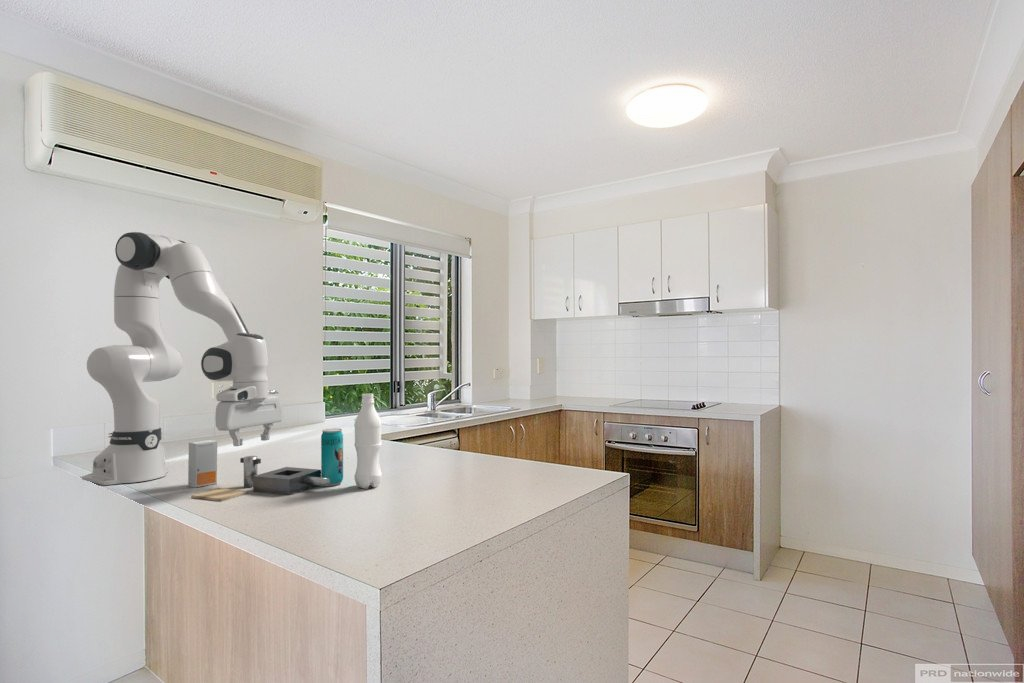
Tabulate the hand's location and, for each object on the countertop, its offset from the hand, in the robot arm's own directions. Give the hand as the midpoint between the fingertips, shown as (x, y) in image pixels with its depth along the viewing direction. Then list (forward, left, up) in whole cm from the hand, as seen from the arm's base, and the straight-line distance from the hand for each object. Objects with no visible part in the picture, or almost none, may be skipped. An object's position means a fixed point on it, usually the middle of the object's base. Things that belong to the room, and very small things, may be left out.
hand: (251, 443), depth 151 cm
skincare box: (-15, -3, -12) cm, 19 cm away
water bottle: (+30, +10, -12) cm, 34 cm away
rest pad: (-1, -10, -12) cm, 15 cm away
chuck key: (-1, 0, -12) cm, 12 cm away
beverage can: (+19, +9, -12) cm, 25 cm away
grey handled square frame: (+14, +2, -12) cm, 18 cm away
